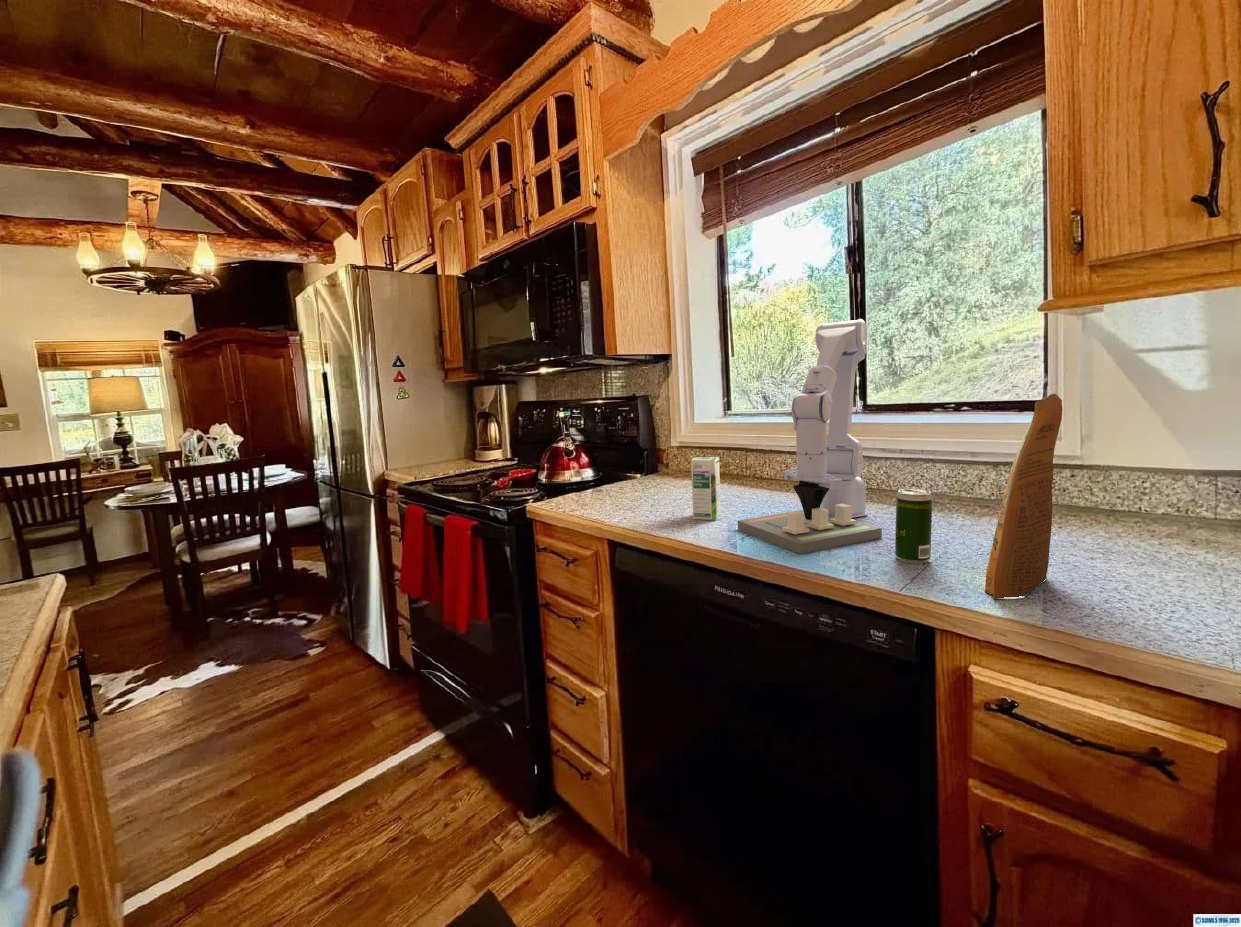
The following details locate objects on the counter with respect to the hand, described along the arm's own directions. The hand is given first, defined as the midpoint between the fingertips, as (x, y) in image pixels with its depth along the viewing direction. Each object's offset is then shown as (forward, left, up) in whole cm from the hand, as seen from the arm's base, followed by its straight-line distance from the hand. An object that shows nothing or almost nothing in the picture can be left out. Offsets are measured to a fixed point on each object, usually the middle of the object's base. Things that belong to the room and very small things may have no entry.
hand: (811, 519), depth 110 cm
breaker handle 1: (+6, +2, -1) cm, 7 cm away
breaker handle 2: (-6, +2, -1) cm, 7 cm away
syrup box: (+10, -25, -4) cm, 27 cm away
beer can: (-4, +20, -4) cm, 21 cm away
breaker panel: (0, -2, -3) cm, 4 cm away
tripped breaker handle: (0, +3, -1) cm, 3 cm away
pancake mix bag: (-7, +36, -4) cm, 37 cm away
